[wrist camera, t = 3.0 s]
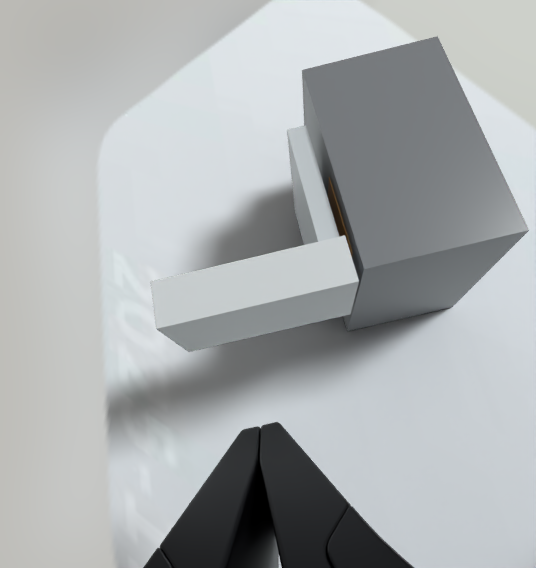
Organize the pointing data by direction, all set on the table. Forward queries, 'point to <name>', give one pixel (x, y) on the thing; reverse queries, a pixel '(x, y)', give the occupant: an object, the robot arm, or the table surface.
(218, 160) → the table surface
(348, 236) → the block
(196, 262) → the table surface
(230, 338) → the side door
